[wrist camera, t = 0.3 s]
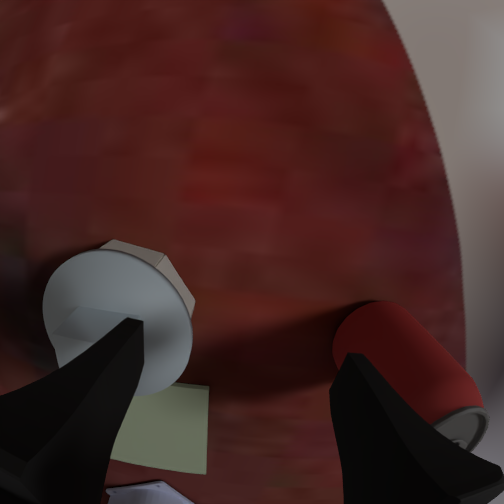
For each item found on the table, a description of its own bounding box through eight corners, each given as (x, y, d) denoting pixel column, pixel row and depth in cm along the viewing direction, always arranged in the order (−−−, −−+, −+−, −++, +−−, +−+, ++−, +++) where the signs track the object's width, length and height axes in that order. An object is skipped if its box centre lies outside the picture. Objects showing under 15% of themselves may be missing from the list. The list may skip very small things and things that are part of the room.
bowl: (121, 374, 23) (110, 397, 20) (53, 281, 21) (32, 296, 18) (215, 330, 22) (213, 354, 19) (143, 218, 20) (128, 228, 17)
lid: (191, 398, 20) (184, 444, 16) (61, 373, 19) (36, 409, 15) (196, 257, 17) (183, 287, 13) (41, 241, 17) (0, 262, 13)
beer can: (381, 378, 24) (442, 486, 12) (314, 361, 23) (359, 492, 11) (422, 311, 22) (516, 403, 11) (356, 285, 21) (447, 394, 10)
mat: (206, 470, 26) (205, 474, 26) (93, 450, 26) (92, 453, 25) (209, 386, 23) (208, 390, 23) (69, 362, 22) (66, 365, 22)
